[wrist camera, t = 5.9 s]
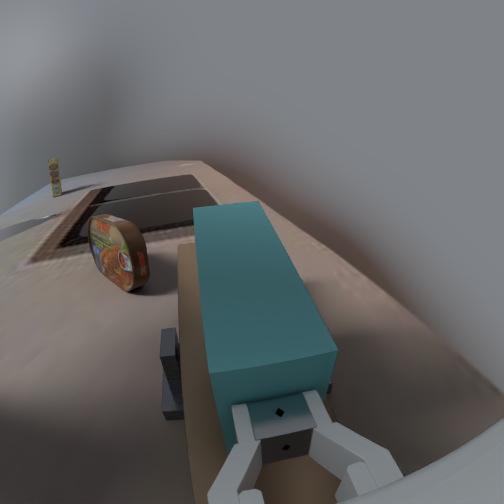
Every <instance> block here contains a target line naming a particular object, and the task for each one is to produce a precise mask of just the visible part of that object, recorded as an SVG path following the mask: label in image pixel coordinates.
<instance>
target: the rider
mask: <svg viewBox="0 0 504 504" xmlns="http://www.w3.org/2000/svg"><path fill="white" fill-rule="evenodd" d="M193 215H194V230H195V244H196V256H197V268H198V279H199V290H200V300H201V310H202V319H203V328H204V337H205V345H206V353H207V361H208V369H209V375H210V380H211V385H212V389H213V394H214V398H215V403H216V407H217V412H218V416H219V420H220V424H221V429H222V433H223V437H224V441H225V445H226V449H227V453H228V456H229V454H230V452H231V450H232V448H233V446H234V444H238V442H237V437H236V432H235V426H234V420H233V413H232V407H231V406H232V405H238V404H245V403H252V402H259V401H265V400H272V399H274V398H279V397H284V396H288V395H293V394H297V393H303V392H307V391H311V390H316V391H317V392H318V394H319V396H320V398H321V400H322V402H323V403H324V399H325V396H326V393H327V389H328V386H329V382H330V379H331V375H332V372H333V368H334V365H335V361H336V357H337V353H338V348H337V346H336V344H335V342H334V340H333V339H332V337H331V335H330V333H329V331H328V329H327V327H326V325H325V323H324V321H323V319H322V317H321V315H320V314H319V312H318V310H317V308H316V306H315V304H314V302H313V300H312V298H311V297H310V295H309V293H308V291H307V289H306V287H305V285H304V283H303V282H302V280H301V278H300V276H299V274H298V272H297V270H296V269H295V267H294V265H293V263H292V261H291V259H290V257H289V256H288V254H287V252H286V250H285V248H284V246H283V245H282V243H281V241H280V239H279V237H278V236H277V234H276V232H275V230H274V228H273V227H272V225H271V223H270V221H269V219H268V218H267V216H266V214H265V212H264V210H263V209H262V207H261V205H260V203H259V201H256V202H245V203H235V204H225V205H216V206H207V207H198V208H193Z"/></svg>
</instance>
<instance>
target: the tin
mask: <svg viewBox="0 0 504 504" xmlns="http://www.w3.org/2000/svg"><path fill="white" fill-rule="evenodd" d="M88 240H89V245H90V249H91V253H92V256H93V258H94V261H95V264H96V266H97V267H98V269H99V271H100V272H101V273H102V274H103V275H104V276H106V277H107V278H108V279H110V280H111V281H112V282H113V283H115V284H116V285H117V286H118V287H120V288H121V289H122V290H124V291H126V292H129V291H131V290H132V289H134V288H137V287H140V286H142V285H144V284H145V283H146V282H147V281H148V279H149V276H150V271H149V262H148V256H147V248H146V244H145V241H144V238H143V236H142V234H141V232H140V231H139V229H138V228H137V227H136V226H135V225H134V224H133V223H132V222H130V221H127V220H124V219H121V218H118V217H115V216H112V215H109V214H104V215H100V216H95V217H94V216H92V217H90V219H89V221H88Z"/></svg>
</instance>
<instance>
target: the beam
mask: <svg viewBox="0 0 504 504" xmlns="http://www.w3.org/2000/svg"><path fill="white" fill-rule="evenodd" d="M178 315H179V342H180V343H178V353H179V358H180V362H181V379H182V393H183V406H184V417H185V428H186V438H187V447H188V456H189V465H190V473H191V480H192V487H193V495H194V501H195V504H208V496H207V494H208V492H209V490H210V488H211V487H212V485H213V483H214V481H215V479H216V478H217V476H218V474H219V472H220V470H221V469H222V467H223V465H224V463H225V461H226V459H227V457H228V453H227V449H226V445H225V441H224V437H223V433H222V429H221V424H220V420H219V416H218V412H217V407H216V403H215V398H214V394H213V389H212V385H211V380H210V375H209V369H208V361H207V353H206V345H205V337H204V328H203V319H202V310H201V300H200V290H199V279H198V268H197V256H196V244H195V243H190V244H182V245H178ZM323 404H324V406H325V408H326V410H327V412H328V414H329V416H330V418H331V420H332V422H333V423H335V422H338V421H337V418H336V416H335V414H334V411H333V409H332V407H331V404H330V402H329V400H328V397H327V395H326V396H325V399H324V403H323ZM341 481H342V480H340V479H339V478H338V477H336V476H335V475H334V474H332V473H331V472H329V471H328V470H327V469H325V468H324V467H323V466H321V465H320V464H319V463H317V462H316V461H315V460H314V459H312V458H311V457H310V456H309V455H305V456H300V457H296V458H291V459H286V460H282V461H277V462H273V463H268V464H264V465H262V468H261V471H260V473H259V476H258V478H257V481H256V483H255V485H254V488H253V489H257V490H259V491H261V493H262V496H263V500H264V504H336V503H337V500H336V498H335V493H336V491H337V489H338V487H339V485H340V483H341Z"/></svg>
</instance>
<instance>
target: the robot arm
mask: <svg viewBox="0 0 504 504" xmlns="http://www.w3.org/2000/svg"><path fill="white" fill-rule="evenodd" d="M231 407H232V413H233V420H234V426H235V432H236V437H237V442H238V444H234V446H233V448H232V450H231V452H230V454H229V456H228V457H227V459H226V461H225V463H224V465H223V467H222V469H221V470H220V472H219V474H218V476H217V478H216V479H215V481H214V483H213V485H212V487H211V488H210V490H209V492H208V494H207V496H208V504H264V500H263V496H262V493H261V491H259V490H257V489H253V488H254V485H255V483H256V481H257V478H258V476H259V473H260V471H261V468H262V465H264V464H268V463H273V462H277V461H282V460H286V459H291V458H296V457H300V456H305V455H309V456H310V457H311V458H312V459H314V460H315V461H316V462H317V463H319V464H320V465H321V466H323V467H324V468H325V469H327V470H328V471H329V472H331V473H332V474H334V475H335V476H336V477H338V478H339V479H340V480H342V481H341V483H340V485H339V487H338V489H337V491H336V493H335V498H336V500H337V503H336V504H504V417H503V418H502V419H500V420H499V421H498V422H496V423H495V424H493V425H492V426H491V427H489V428H488V429H486V430H485V431H484V432H482V433H481V434H479V435H478V436H476V437H475V438H473V439H472V440H470V441H468V442H467V443H465V444H464V445H462V446H460V447H459V448H457V449H456V450H454V451H452V452H450V453H449V454H447V455H445V456H444V457H442V458H440V459H438V460H436V461H435V462H433V463H431V464H429V465H427V466H425V467H423V468H421V469H419V470H417V471H415V472H413V473H411V474H409V475H407V476H405V477H403V475H402V473H401V471H400V470H399V468H398V466H397V464H396V463H395V461H394V459H393V457H392V456H391V454H390V452H389V450H387V449H385V448H383V447H381V446H379V445H378V444H376V443H374V442H372V441H370V440H368V439H366V438H364V437H363V436H361V435H359V434H357V433H355V432H353V431H352V430H350V429H348V428H346V427H345V426H343V425H341V424H339V423H338V422H335V423H333V422H332V420H331V418H330V416H329V414H328V412H327V410H326V408H325V406H324V404H323V402H322V400H321V398H320V396H319V394H318V392H317V391H316V390H311V391H307V392H303V393H297V394H293V395H288V396H284V397H279V398H274V399H272V400H265V401H259V402H252V403H245V404H238V405H232V406H231Z"/></svg>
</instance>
